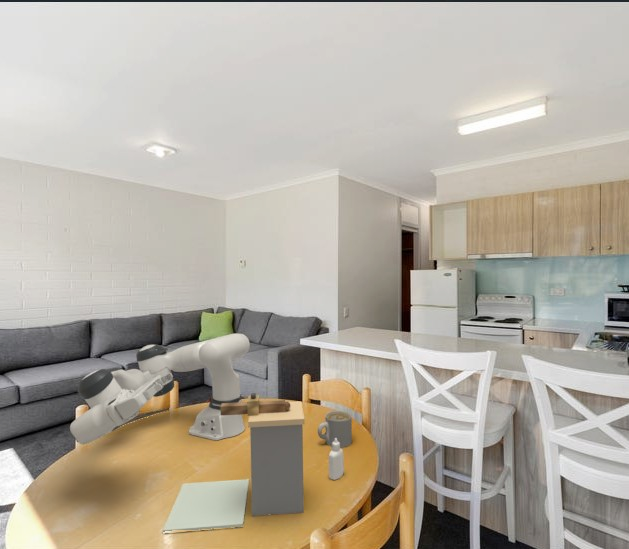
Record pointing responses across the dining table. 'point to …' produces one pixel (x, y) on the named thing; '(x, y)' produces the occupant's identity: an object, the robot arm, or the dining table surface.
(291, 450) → the stand
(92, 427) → the robot arm
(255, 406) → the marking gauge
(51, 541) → the dining table surface
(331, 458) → the eye dropper bottle
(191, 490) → the sage mat
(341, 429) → the coffee mug
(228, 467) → the dining table surface
